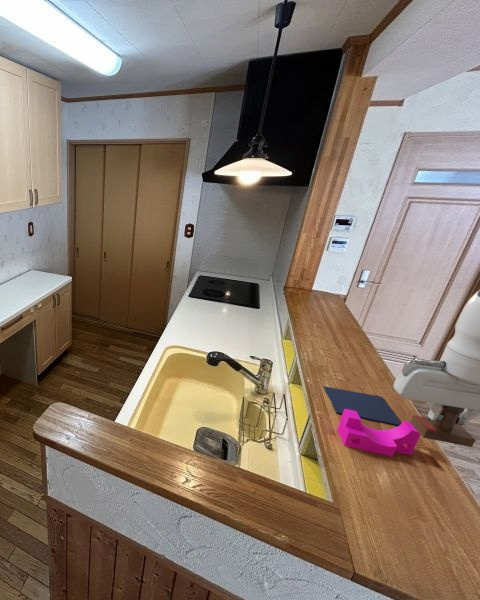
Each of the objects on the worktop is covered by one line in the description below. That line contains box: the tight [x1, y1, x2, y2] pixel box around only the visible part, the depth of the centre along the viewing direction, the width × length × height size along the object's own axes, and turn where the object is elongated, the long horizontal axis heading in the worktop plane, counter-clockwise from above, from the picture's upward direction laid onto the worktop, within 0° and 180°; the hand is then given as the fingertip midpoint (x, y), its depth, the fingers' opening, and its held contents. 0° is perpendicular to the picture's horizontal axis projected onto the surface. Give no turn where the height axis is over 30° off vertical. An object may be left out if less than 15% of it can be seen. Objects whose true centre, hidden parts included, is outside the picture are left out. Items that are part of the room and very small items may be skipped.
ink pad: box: [323, 385, 403, 427], centre depth 102 cm, size 16×14×1 cm
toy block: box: [336, 409, 421, 458], centre depth 86 cm, size 15×6×8 cm, turn 68°
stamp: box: [409, 405, 476, 448], centre depth 69 cm, size 8×5×9 cm, turn 70°
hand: (446, 421), depth 69 cm, fingers closed on stamp, 2 cm apart
